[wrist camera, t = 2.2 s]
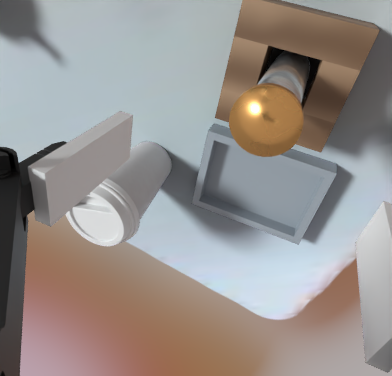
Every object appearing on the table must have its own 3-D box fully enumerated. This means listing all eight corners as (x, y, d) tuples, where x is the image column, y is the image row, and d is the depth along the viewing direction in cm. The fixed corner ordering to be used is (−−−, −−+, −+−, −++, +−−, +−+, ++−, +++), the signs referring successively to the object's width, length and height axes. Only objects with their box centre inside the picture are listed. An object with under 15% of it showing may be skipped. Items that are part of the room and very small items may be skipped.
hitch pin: (276, 39, 34) (239, 77, 21) (322, 51, 33) (315, 100, 20) (262, 84, 37) (221, 144, 24) (304, 97, 36) (287, 166, 23)
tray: (214, 123, 42) (208, 130, 40) (336, 163, 39) (336, 173, 37) (197, 194, 49) (191, 203, 47) (299, 233, 46) (298, 244, 44)
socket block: (254, -7, 33) (243, -5, 29) (374, 23, 31) (379, 30, 27) (226, 104, 40) (215, 117, 36) (322, 134, 38) (320, 152, 34)
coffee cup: (188, 147, 45) (136, 207, 33) (173, 197, 51) (124, 263, 39) (128, 120, 46) (58, 169, 34) (120, 172, 52) (57, 229, 40)
